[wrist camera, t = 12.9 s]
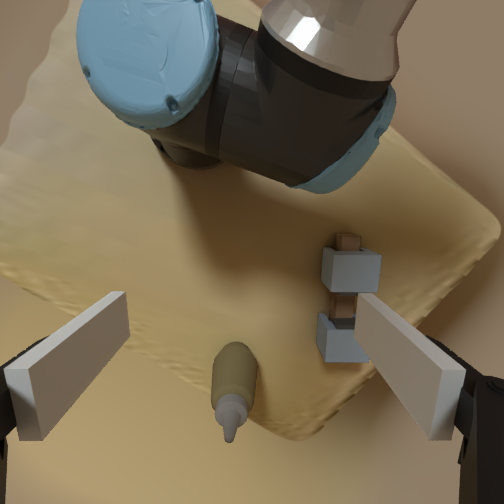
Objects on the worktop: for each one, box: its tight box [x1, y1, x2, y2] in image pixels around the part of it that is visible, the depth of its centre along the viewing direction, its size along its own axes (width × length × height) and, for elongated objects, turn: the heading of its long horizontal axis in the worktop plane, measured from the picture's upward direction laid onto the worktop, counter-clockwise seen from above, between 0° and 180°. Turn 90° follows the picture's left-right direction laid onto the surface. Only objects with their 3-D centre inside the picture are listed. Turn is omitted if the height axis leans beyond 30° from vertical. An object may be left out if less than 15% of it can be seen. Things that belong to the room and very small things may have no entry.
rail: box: [329, 233, 361, 321], centre depth 47 cm, size 22×3×4 cm, turn 179°
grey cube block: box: [321, 247, 382, 296], centre depth 44 cm, size 7×7×6 cm
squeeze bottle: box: [211, 342, 257, 443], centre depth 42 cm, size 8×8×18 cm
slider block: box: [316, 314, 369, 363], centre depth 46 cm, size 7×7×6 cm
